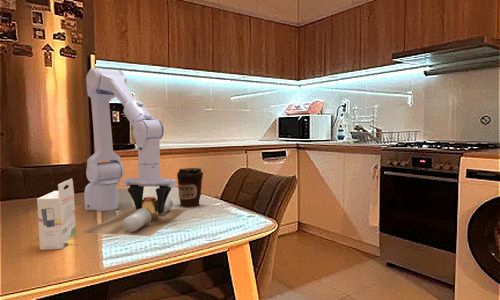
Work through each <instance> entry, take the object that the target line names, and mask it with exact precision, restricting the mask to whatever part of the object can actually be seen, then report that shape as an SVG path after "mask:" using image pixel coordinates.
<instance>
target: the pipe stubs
mask: <svg viewBox="0 0 500 300" xmlns="http://www.w3.org/2000/svg"><path fill="white" fill-rule="evenodd" d="M173 206H174V202H173V200H172V199H171V198H170V197H169V196H168V197H167V199H166V202H165V206H164V212H163V213H161V214H158V216H163V215H164V214H165V212H166V211H168V210H170V209H173ZM150 222H151V214H150V212H149V211H148V210H147V209H144V208H141V209H138V210H137V211H135V213H134V214H132V215H130V216H128V217H126V218H125V219H124V220H123V223H122V225H123V228H124V230H125V231H127V232H129V233H132V232H134V231H136V230H138V229H139V228H141V227H142V226H147V225H148V224H149V223H150Z"/></svg>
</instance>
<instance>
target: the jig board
mask: <svg viewBox="0 0 500 300" xmlns="http://www.w3.org/2000/svg"><path fill="white" fill-rule="evenodd" d="M135 211H137V210H136V206H135V207H133V206H132V207H130V208H129V209H126V210H124V211H123V212H120V213H118V214H116V215H114V216H112V217H110V218H108V219H106V220H104V221H101V222H100V223H97V224H96V225H94V226H92V227H89V228H88V229H86V230H83V231H82V233H89V234H91V233H92V234H107V235H108V234H110V235H127V236H143V237H151V236H153V235H154V234H155V233H157V232H158V231H159V230H161V229H162V228H164V227H165V226H166V225H168V224H169V223H171V222H172V221H174V220H175V219H177V218H178V217H180V216H181V215H182V214H183V213H185V212H187V209H182V208H181V209H180V208H171V209H170V210H168V211H166V212H165V214H164V215H163V216H158V217H160V218H162V220H161V221H159V222H155V223H149V224H148V225H147V226H142V227H141V228H139V229H138V230H136V231H134V232H132V233H129V232H127V231H125V230H124V228H123V225H122V223H123V220H124V219H125V218H126V217H128V216H130V215H132V214H134V213H135Z"/></svg>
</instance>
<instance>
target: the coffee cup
mask: <svg viewBox="0 0 500 300" xmlns="http://www.w3.org/2000/svg"><path fill="white" fill-rule="evenodd" d="M203 177H204V172H202V168H199V167H188V168H187V167H185V168H179V169H178V172H177V174H176V178H177V189H178V190H177V191H178V198H179V203H180V207H183V208H197V207H200V199H201V196H202V189H203V184H202V183H203Z"/></svg>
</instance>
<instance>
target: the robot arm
mask: <svg viewBox="0 0 500 300" xmlns="http://www.w3.org/2000/svg"><path fill="white" fill-rule="evenodd" d="M85 77H86V78H85V82H86V92H87V96H88V97H89V98H90V102H91V103H90V104H91V112H92V113H91V114H92V115H91V116H92V125H93V138H94V150H95V152H94V153H93V154H92V155H91V156H89V158H88V159H87V160H86V161H87V162H86V163H87V164H86V170H85V173H86V178H87V180H88V181H89V182H88V183H87V185H86V186H85V188H84V192H83V193H84V210H87V211H88V210H90V211H97V212H98V211H100V212H103V211H106V212H107V211H112V210H117V209H118V208H119V184H118V183H120V182H121V179H122V178H123V176H124V174H125V173H124V172H125V170H124V166H123V163H122V159H121V156H120V155H119V154H117V153H116V152H115V151H114V147H113V144H114V143H113V133H112V124H111V123H112V122H111V111H110V110H111V108H110V101H111V100H112V99H115V98H117V99H118V101H119V102H120V104H122V106H123V114H124V115H125V117H126V119H127V120H128V121H129V123H130V124H131V126H132V127H133V129H132V133H133V138H134V139H135V146H136V147H137V153H138V154H137V155H138V156H137V157H138V158H137V159H138V161H137V163H138V164H137V165H138V177H130V178H129V177H128V178H123V187H128V186H129V187H128V188H127V192H128V193H129V195H130V197H131V198H132V200H133V203H134V206H135V207H136V210H138V209H141V208H142V203H141V200H143V199H144V191H145V190H144V189H145V187H151V188H152V187H153V188H154V187H157V188H155V193H156V196H157V197H156V199H158V214H161V213H163V212H164V206H165V202H166V199H167V197H168V198H169V194H170V192H171V190H172V188H173V189H174V188H176V187H177V179H169V178H162V177H161V155H160V154H161V150H160V148H161V147H160V145H161V144H160V143H161V142H160V140H161V139H162V138H163V137H164V134H165V133H164V132H165V128H164V125H163V123H162V121H161V120H160V119H157V118H155V117H153V116H152V115H151V113H150V112H149V110H148V109H147V108H146V106H145V105H144V104H145V103H143V102H142V101H140V100H138V99H135V97H134V96H133V93H132V92H131V90H130V89H129V87H128V84H127V82H128V80H127V76H126V75H125V73H124V72H123V71H122V70H113V69H112V70H111V69H104V68H97V67H91V68H90V69H89V71H88V72H87V74H86V76H85Z"/></svg>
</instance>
